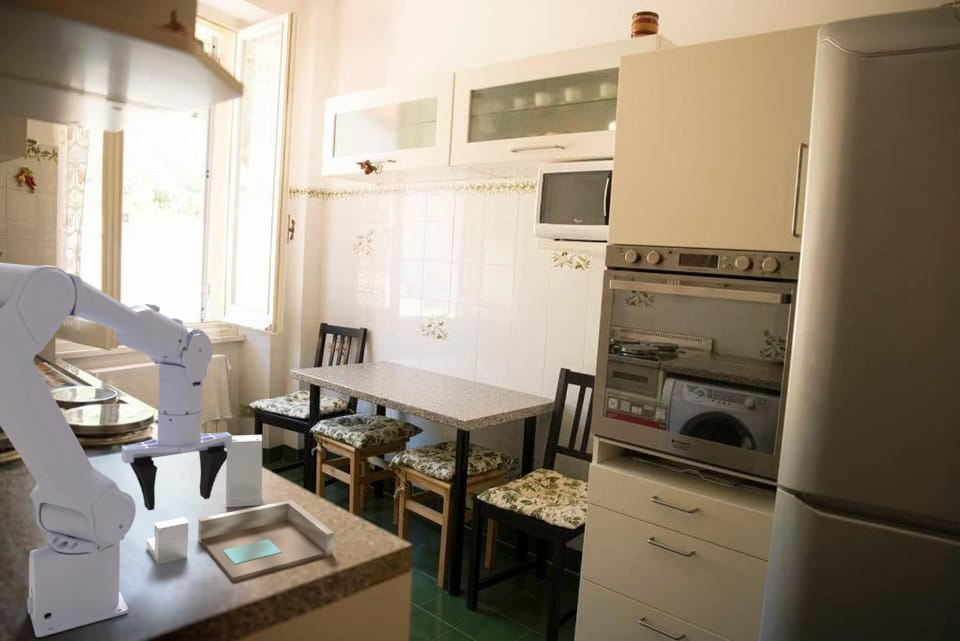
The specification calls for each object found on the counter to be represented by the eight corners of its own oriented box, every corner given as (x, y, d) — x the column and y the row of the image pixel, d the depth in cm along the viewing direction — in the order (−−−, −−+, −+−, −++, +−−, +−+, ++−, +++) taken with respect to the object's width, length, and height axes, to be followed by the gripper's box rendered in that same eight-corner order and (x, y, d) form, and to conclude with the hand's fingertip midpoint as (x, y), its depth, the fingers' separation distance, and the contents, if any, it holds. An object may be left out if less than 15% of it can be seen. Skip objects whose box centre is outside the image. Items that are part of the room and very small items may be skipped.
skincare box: (261, 497, 118) (263, 433, 117) (261, 506, 114) (264, 440, 113) (225, 499, 116) (227, 434, 115) (224, 509, 112) (226, 441, 111)
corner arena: (232, 581, 88) (233, 557, 88) (198, 540, 100) (198, 518, 99) (332, 554, 98) (334, 532, 98) (291, 519, 110) (291, 499, 109)
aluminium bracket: (157, 565, 92) (158, 528, 91) (147, 549, 96) (147, 513, 96) (187, 558, 94) (188, 522, 94) (175, 542, 99) (176, 508, 98)
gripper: (132, 423, 84) (130, 523, 85) (241, 411, 94) (238, 500, 95) (118, 411, 89) (116, 505, 90) (222, 400, 99) (220, 486, 100)
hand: (177, 502), depth 93 cm, fingers open, 7 cm apart
